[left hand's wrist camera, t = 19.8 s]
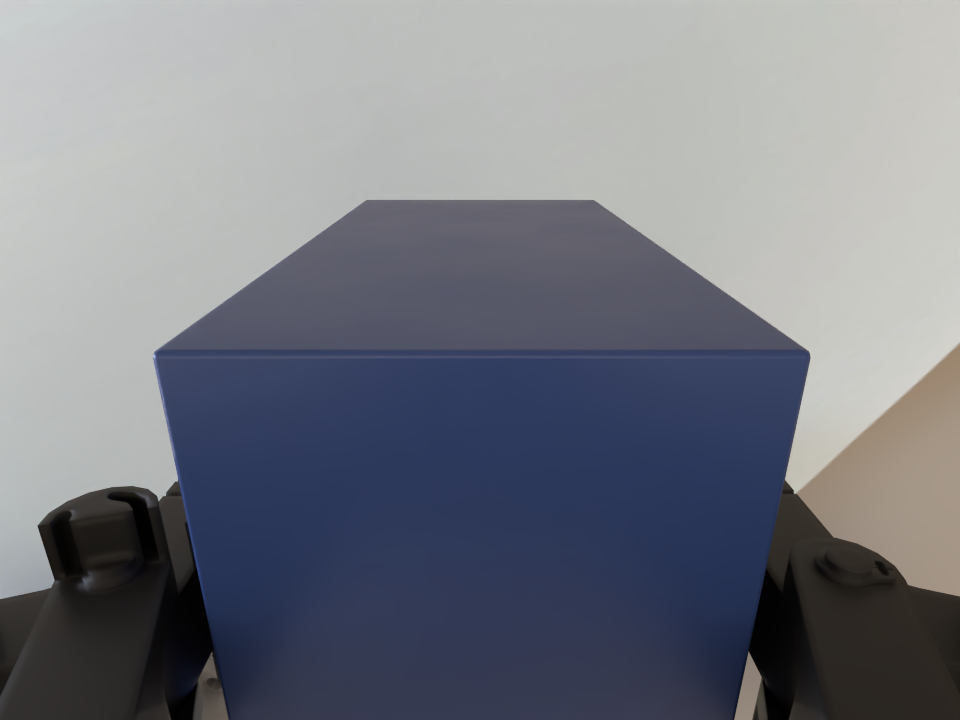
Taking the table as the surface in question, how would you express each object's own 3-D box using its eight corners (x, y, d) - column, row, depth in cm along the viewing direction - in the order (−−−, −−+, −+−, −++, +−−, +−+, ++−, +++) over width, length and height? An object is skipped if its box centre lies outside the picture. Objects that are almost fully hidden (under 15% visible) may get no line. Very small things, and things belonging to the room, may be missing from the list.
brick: (595, 199, 16) (815, 351, 5) (577, 468, 19) (698, 900, 8) (365, 199, 16) (148, 352, 5) (383, 468, 19) (264, 900, 8)
